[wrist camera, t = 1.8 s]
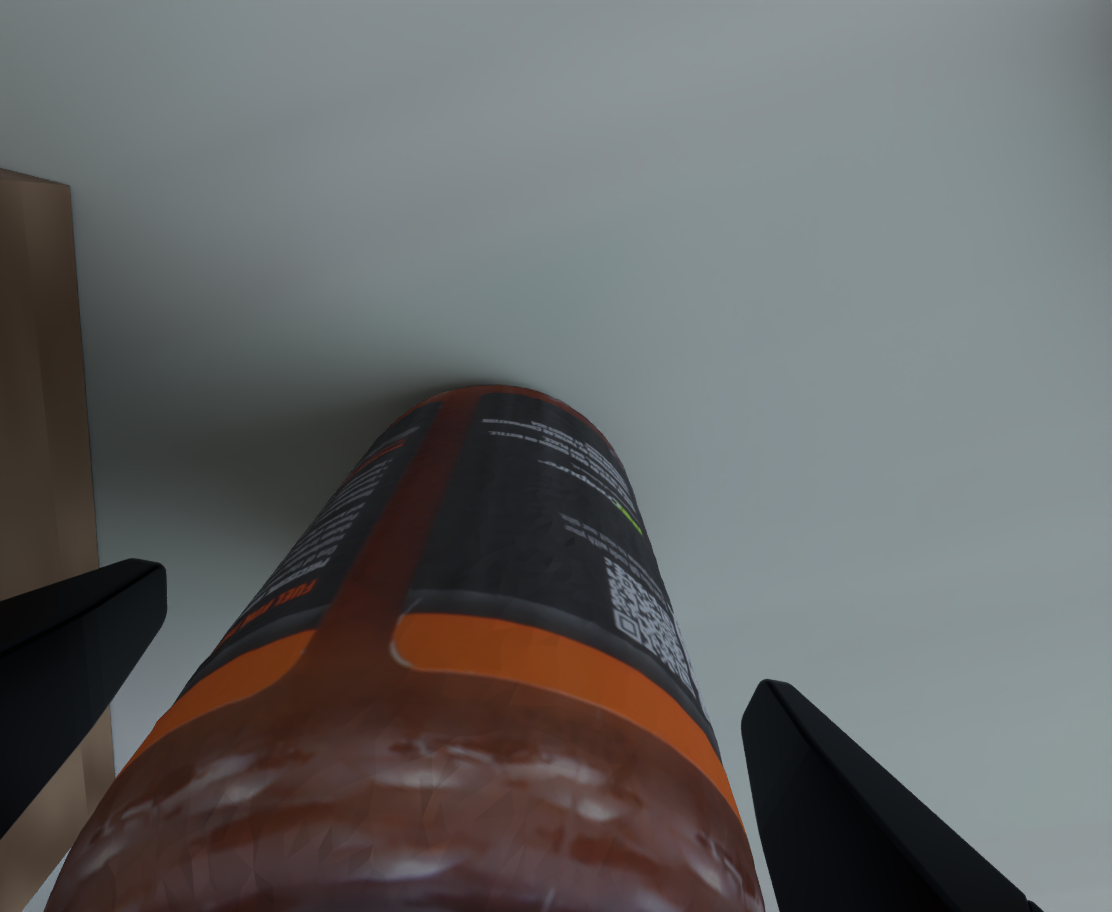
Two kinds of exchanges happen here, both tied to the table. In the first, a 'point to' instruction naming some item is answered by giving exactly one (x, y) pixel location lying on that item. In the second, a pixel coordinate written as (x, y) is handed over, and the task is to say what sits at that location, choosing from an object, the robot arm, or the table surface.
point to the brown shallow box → (44, 489)
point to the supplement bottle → (439, 704)
